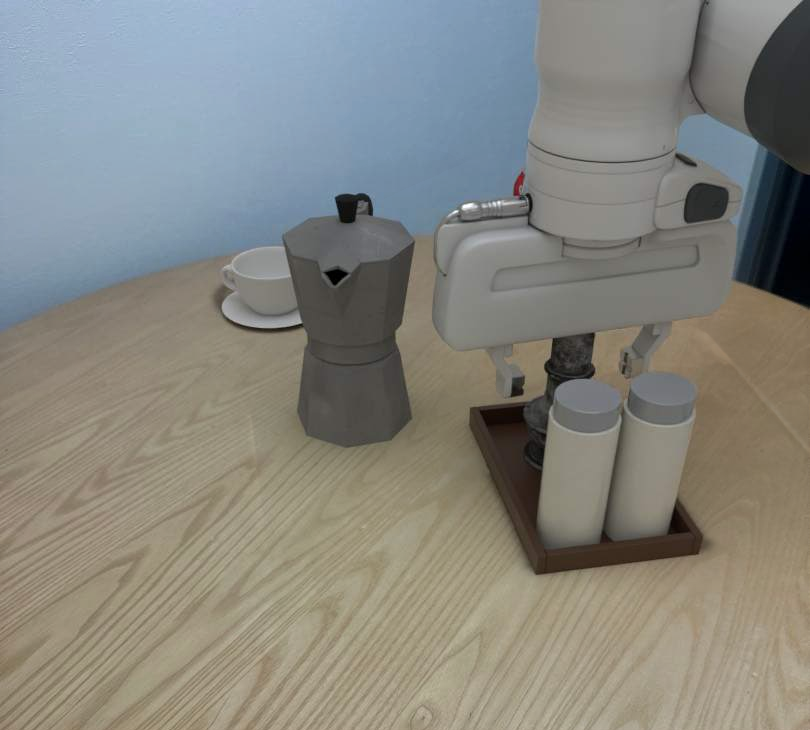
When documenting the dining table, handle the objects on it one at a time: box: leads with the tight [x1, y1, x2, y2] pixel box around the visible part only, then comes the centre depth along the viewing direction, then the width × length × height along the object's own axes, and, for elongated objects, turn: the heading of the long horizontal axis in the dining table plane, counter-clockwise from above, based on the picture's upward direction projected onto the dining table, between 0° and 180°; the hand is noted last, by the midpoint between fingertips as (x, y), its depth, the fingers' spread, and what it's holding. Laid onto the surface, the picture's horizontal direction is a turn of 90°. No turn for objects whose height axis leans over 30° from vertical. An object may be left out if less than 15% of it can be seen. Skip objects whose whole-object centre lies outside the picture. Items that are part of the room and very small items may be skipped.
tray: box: [468, 400, 704, 576], centre depth 68 cm, size 11×18×2 cm, turn 11°
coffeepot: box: [281, 192, 416, 449], centre depth 71 cm, size 15×9×18 cm, turn 174°
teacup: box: [220, 245, 302, 329], centre depth 89 cm, size 10×10×5 cm
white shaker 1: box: [535, 378, 623, 550], centre depth 60 cm, size 4×4×11 cm
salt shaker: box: [523, 332, 597, 471], centre depth 67 cm, size 6×6×12 cm
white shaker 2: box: [603, 371, 698, 541], centre depth 61 cm, size 4×4×11 cm
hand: (571, 383), depth 67 cm, fingers open, 8 cm apart
